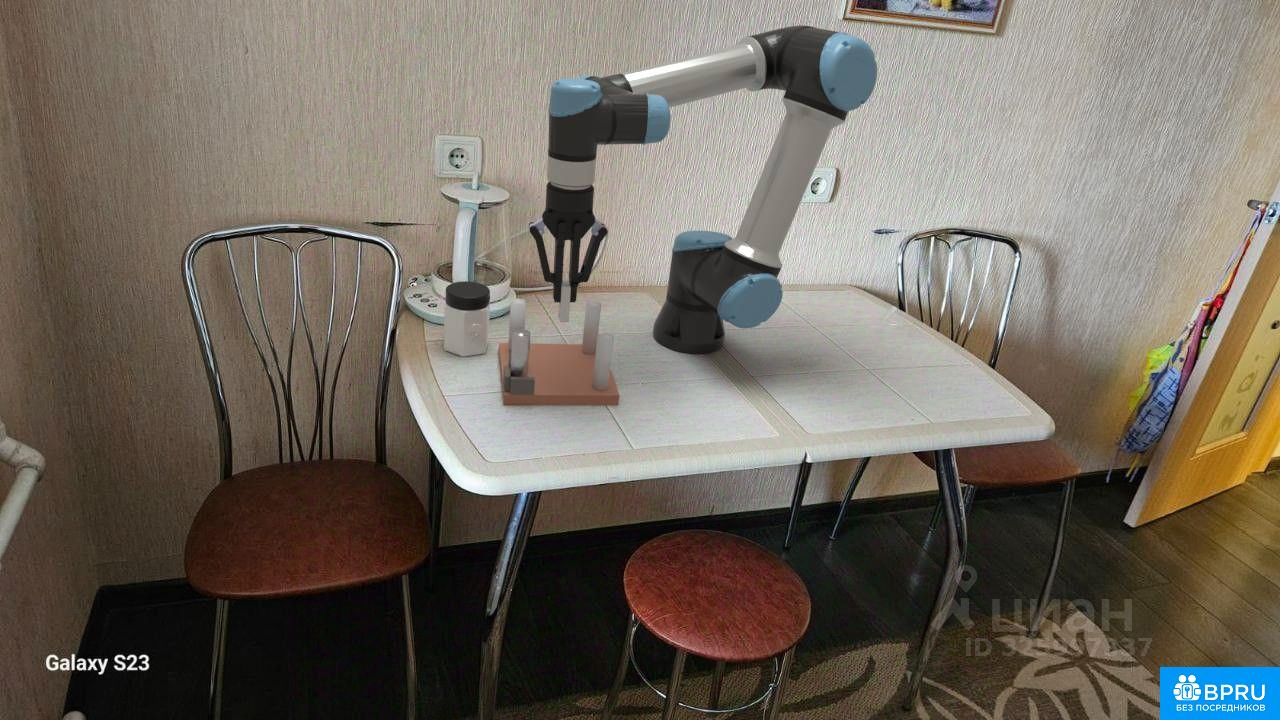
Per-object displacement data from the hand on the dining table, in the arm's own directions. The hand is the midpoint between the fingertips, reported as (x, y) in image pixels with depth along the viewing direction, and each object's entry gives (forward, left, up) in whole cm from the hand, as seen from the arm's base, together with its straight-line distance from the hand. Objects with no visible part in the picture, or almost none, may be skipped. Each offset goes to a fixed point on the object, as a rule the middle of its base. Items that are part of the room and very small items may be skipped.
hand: (563, 318), depth 139 cm
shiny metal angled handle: (+7, -2, -12) cm, 14 cm away
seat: (0, -5, -14) cm, 15 cm away
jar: (+16, -17, -15) cm, 27 cm away
